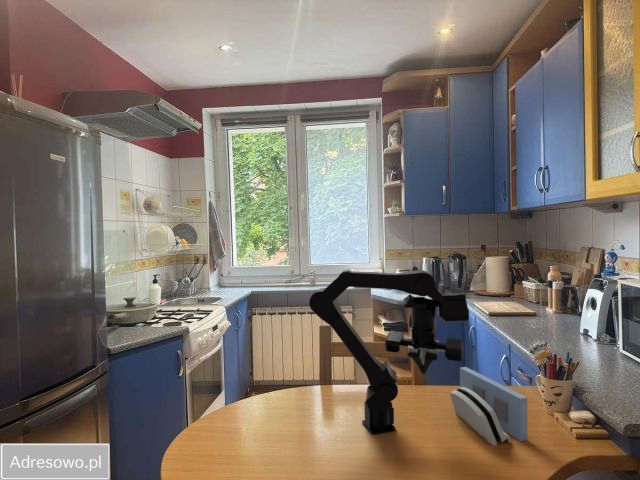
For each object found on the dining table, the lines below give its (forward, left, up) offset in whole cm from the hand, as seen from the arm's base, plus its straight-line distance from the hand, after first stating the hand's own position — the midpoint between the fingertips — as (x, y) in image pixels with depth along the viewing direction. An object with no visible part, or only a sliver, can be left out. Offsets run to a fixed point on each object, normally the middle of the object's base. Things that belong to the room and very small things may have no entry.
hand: (423, 372), depth 103 cm
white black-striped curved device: (+10, -8, -13) cm, 18 cm away
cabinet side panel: (+16, -6, -12) cm, 21 cm away
